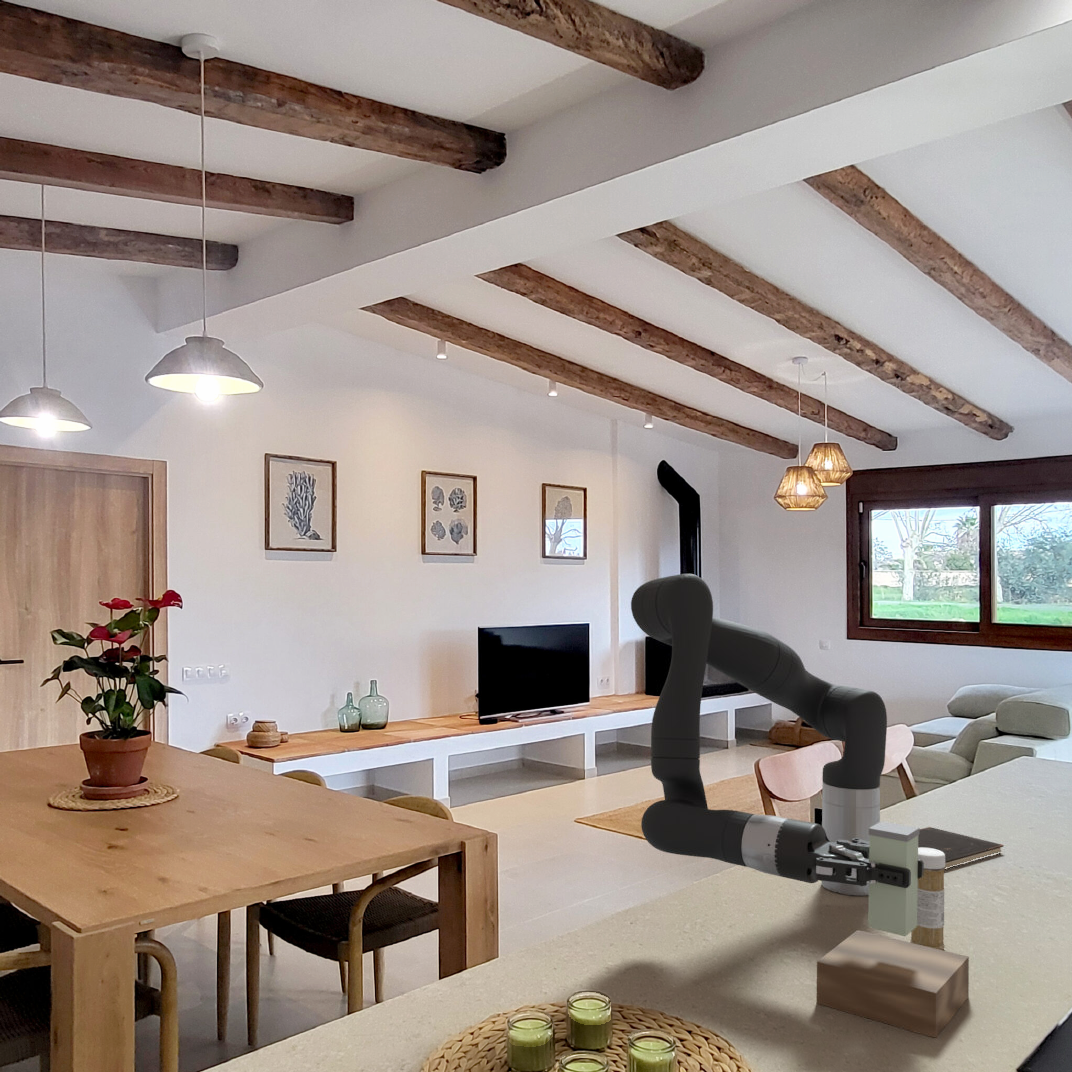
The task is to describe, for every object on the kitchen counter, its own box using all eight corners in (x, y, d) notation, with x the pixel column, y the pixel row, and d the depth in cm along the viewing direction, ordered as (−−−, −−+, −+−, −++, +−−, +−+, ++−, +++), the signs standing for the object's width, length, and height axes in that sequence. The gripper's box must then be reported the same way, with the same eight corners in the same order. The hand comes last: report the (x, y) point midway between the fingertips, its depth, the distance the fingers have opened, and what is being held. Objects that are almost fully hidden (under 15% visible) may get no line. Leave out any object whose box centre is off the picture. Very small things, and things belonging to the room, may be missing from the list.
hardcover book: (1003, 857, 189) (1003, 844, 189) (934, 877, 175) (934, 864, 175) (926, 837, 201) (926, 826, 202) (856, 855, 188) (857, 842, 188)
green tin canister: (879, 917, 126) (881, 821, 126) (918, 926, 123) (919, 827, 124) (867, 927, 122) (868, 828, 123) (905, 936, 119) (907, 835, 120)
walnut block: (857, 968, 132) (857, 930, 132) (968, 997, 124) (968, 956, 124) (816, 1003, 121) (816, 961, 121) (935, 1037, 113) (936, 993, 113)
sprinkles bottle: (917, 938, 144) (918, 844, 144) (949, 947, 140) (950, 851, 141) (904, 947, 140) (905, 850, 141) (937, 956, 137) (937, 857, 138)
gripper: (761, 828, 126) (898, 855, 116) (806, 809, 137) (934, 831, 127) (760, 888, 126) (897, 920, 115) (805, 864, 137) (933, 891, 127)
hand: (915, 874), depth 121 cm, fingers closed on green tin canister, 4 cm apart
